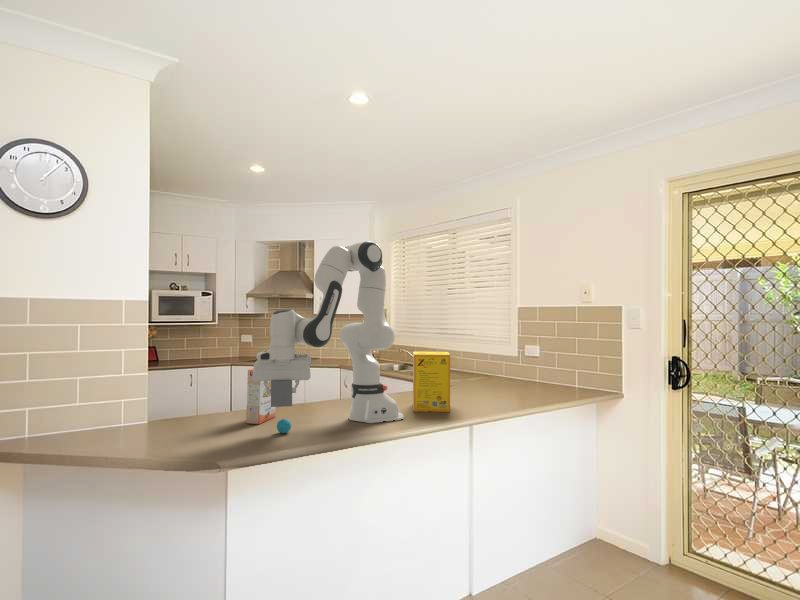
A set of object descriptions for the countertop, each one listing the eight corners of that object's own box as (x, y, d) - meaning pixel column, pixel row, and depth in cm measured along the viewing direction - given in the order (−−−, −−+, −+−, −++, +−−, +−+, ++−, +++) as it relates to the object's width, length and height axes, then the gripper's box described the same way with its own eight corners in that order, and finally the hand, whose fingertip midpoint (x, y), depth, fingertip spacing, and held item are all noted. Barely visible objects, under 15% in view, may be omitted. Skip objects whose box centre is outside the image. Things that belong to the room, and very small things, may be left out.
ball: (293, 420, 170) (280, 415, 169) (293, 423, 165) (280, 418, 164) (287, 433, 170) (274, 429, 168) (287, 436, 165) (274, 432, 164)
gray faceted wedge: (291, 402, 172) (291, 378, 172) (292, 406, 165) (292, 380, 165) (270, 403, 170) (270, 379, 170) (270, 407, 163) (271, 381, 163)
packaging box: (413, 404, 222) (413, 351, 223) (447, 404, 222) (447, 351, 222) (412, 411, 206) (413, 354, 207) (450, 411, 205) (450, 354, 206)
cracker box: (260, 425, 179) (260, 370, 180) (245, 424, 180) (246, 369, 181) (276, 417, 193) (277, 366, 193) (263, 416, 194) (264, 365, 194)
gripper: (310, 353, 174) (310, 391, 173) (253, 353, 168) (252, 392, 168) (312, 354, 168) (311, 393, 167) (252, 355, 162) (251, 395, 162)
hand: (281, 393), depth 167 cm, fingers closed on gray faceted wedge, 7 cm apart
